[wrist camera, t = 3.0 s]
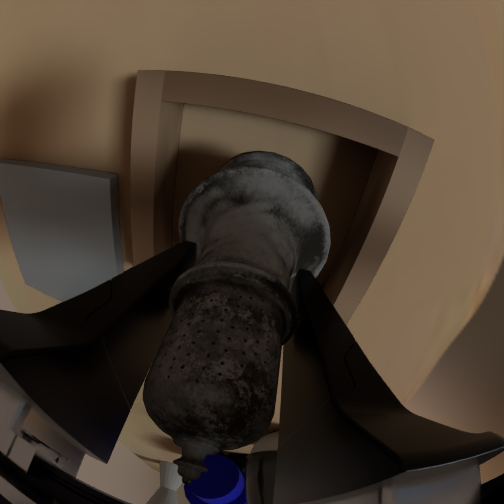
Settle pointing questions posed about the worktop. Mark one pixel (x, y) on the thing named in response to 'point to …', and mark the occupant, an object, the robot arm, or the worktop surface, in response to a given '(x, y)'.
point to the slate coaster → (62, 225)
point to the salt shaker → (234, 305)
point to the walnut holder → (288, 109)
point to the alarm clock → (218, 482)
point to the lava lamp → (167, 484)
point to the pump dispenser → (261, 470)
